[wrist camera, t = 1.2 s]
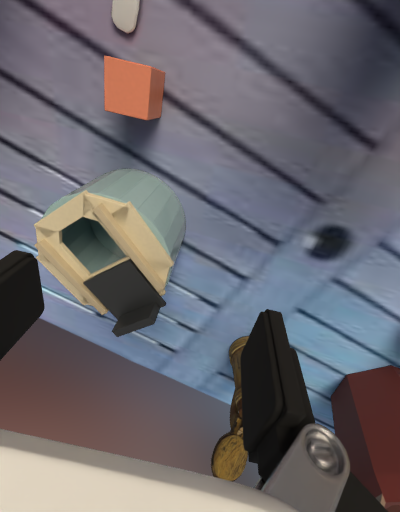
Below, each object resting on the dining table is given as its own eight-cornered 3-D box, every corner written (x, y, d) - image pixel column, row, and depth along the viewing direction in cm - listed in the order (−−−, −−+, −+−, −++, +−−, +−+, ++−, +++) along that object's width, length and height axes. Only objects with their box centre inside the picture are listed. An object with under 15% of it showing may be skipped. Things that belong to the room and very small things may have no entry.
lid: (18, 234, 27) (8, 241, 26) (110, 173, 22) (103, 178, 21) (100, 317, 32) (95, 326, 31) (188, 282, 28) (186, 290, 26)
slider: (84, 280, 28) (70, 297, 25) (130, 257, 26) (119, 274, 23) (122, 319, 31) (112, 339, 28) (166, 302, 28) (160, 322, 26)
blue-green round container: (64, 200, 35) (11, 232, 27) (145, 146, 30) (111, 163, 22) (128, 276, 41) (100, 322, 33) (204, 241, 36) (195, 284, 28)
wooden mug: (204, 362, 50) (192, 476, 35) (252, 328, 44) (261, 449, 29) (238, 382, 53) (240, 497, 37) (288, 352, 46) (315, 476, 31)
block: (124, 108, 28) (104, 110, 24) (125, 62, 26) (104, 55, 22) (160, 117, 28) (147, 120, 24) (165, 72, 26) (151, 66, 22)
